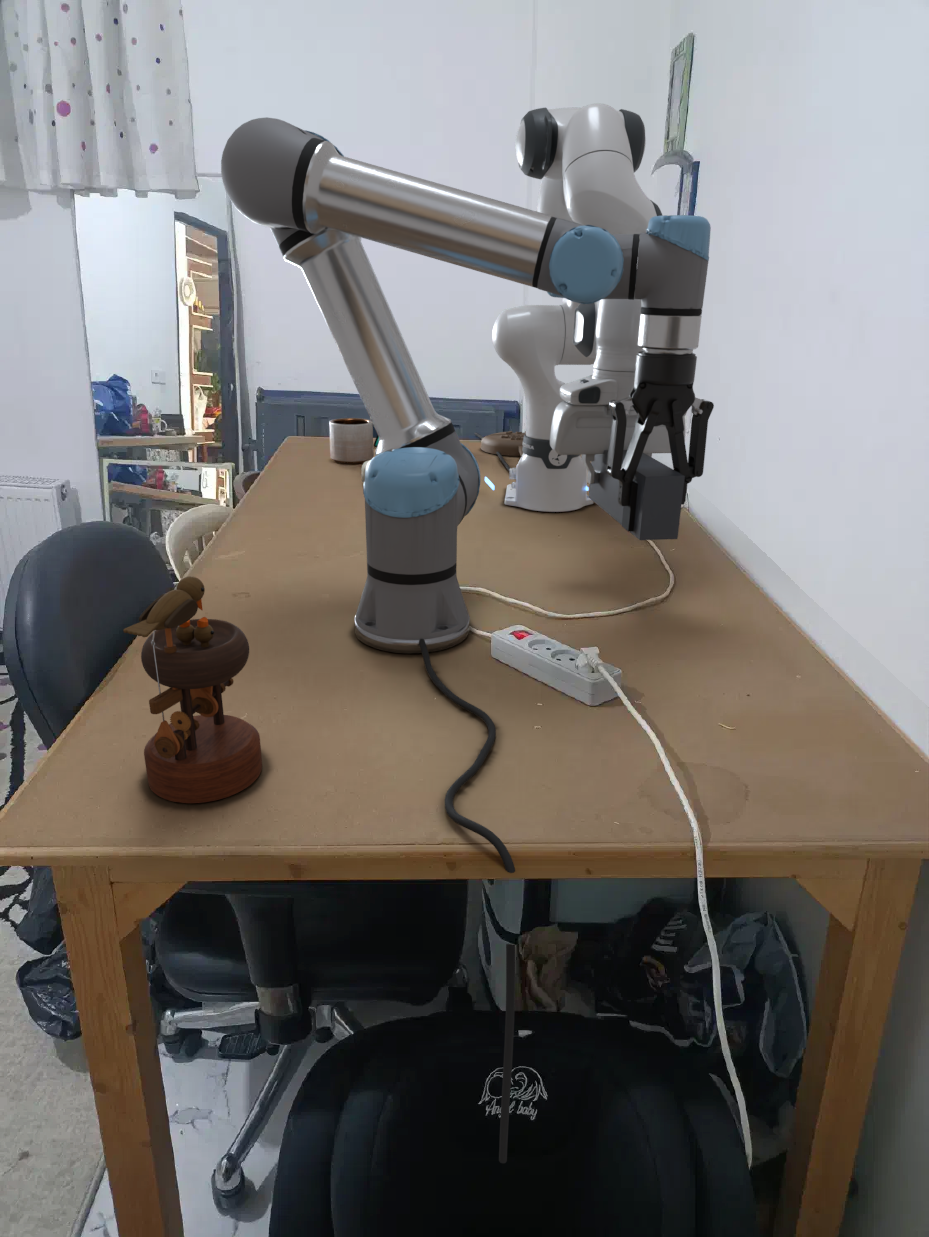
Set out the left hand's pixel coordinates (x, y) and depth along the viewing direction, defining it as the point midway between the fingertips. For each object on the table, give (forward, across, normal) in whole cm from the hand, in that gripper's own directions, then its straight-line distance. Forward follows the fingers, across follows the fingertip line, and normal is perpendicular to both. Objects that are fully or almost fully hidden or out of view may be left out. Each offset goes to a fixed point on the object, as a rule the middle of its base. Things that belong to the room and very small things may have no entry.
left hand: (648, 527), depth 116 cm
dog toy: (+13, +26, -83) cm, 87 cm away
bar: (+1, 0, -8) cm, 8 cm away
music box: (+13, +56, +34) cm, 66 cm away
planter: (+13, +37, -109) cm, 116 cm away
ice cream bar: (+13, -8, -112) cm, 113 cm away
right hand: (-3, 0, -15) cm, 16 cm away
